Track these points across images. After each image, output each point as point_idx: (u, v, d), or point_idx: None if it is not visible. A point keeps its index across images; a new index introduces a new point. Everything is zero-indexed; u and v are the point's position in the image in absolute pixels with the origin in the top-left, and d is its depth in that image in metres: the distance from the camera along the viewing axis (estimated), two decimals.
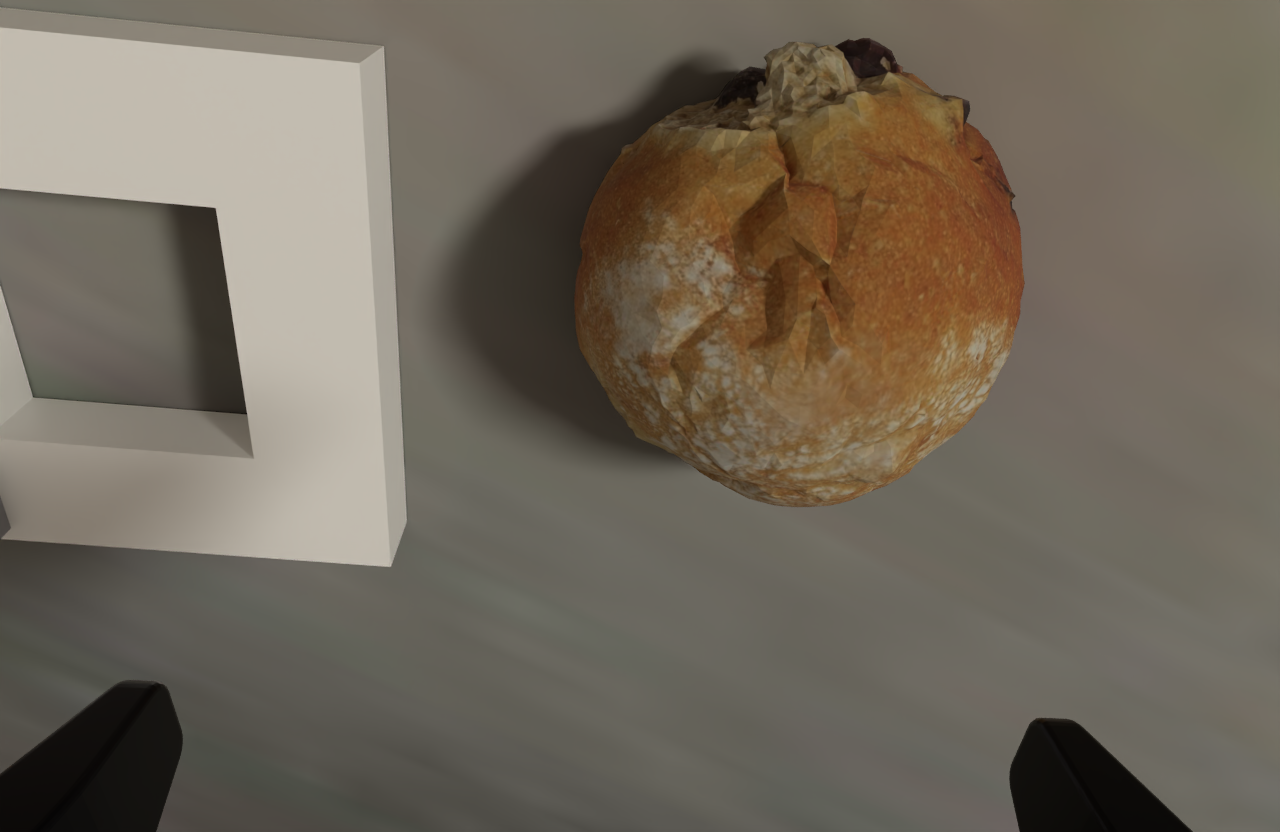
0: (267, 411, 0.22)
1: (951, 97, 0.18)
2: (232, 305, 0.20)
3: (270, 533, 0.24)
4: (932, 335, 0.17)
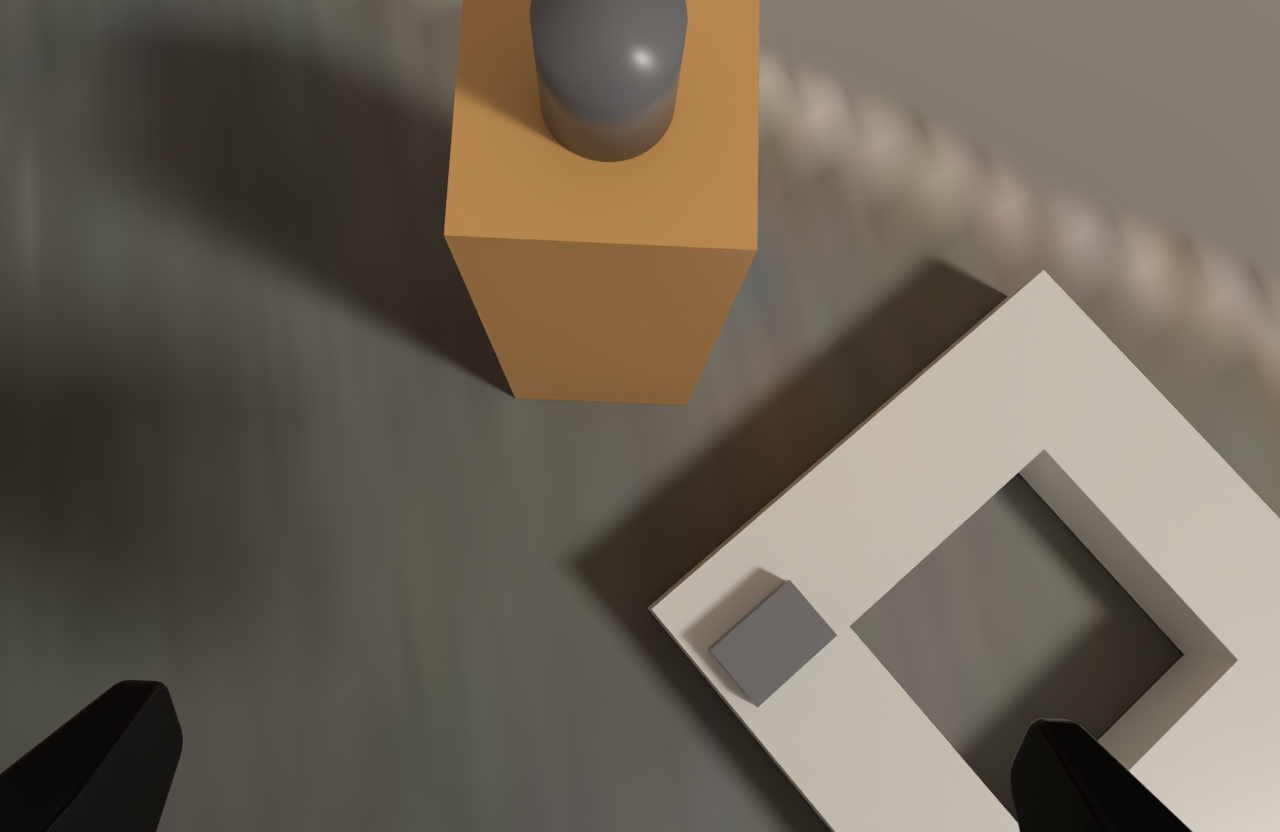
0: None
1: None
2: (1173, 727, 0.21)
3: None
4: None
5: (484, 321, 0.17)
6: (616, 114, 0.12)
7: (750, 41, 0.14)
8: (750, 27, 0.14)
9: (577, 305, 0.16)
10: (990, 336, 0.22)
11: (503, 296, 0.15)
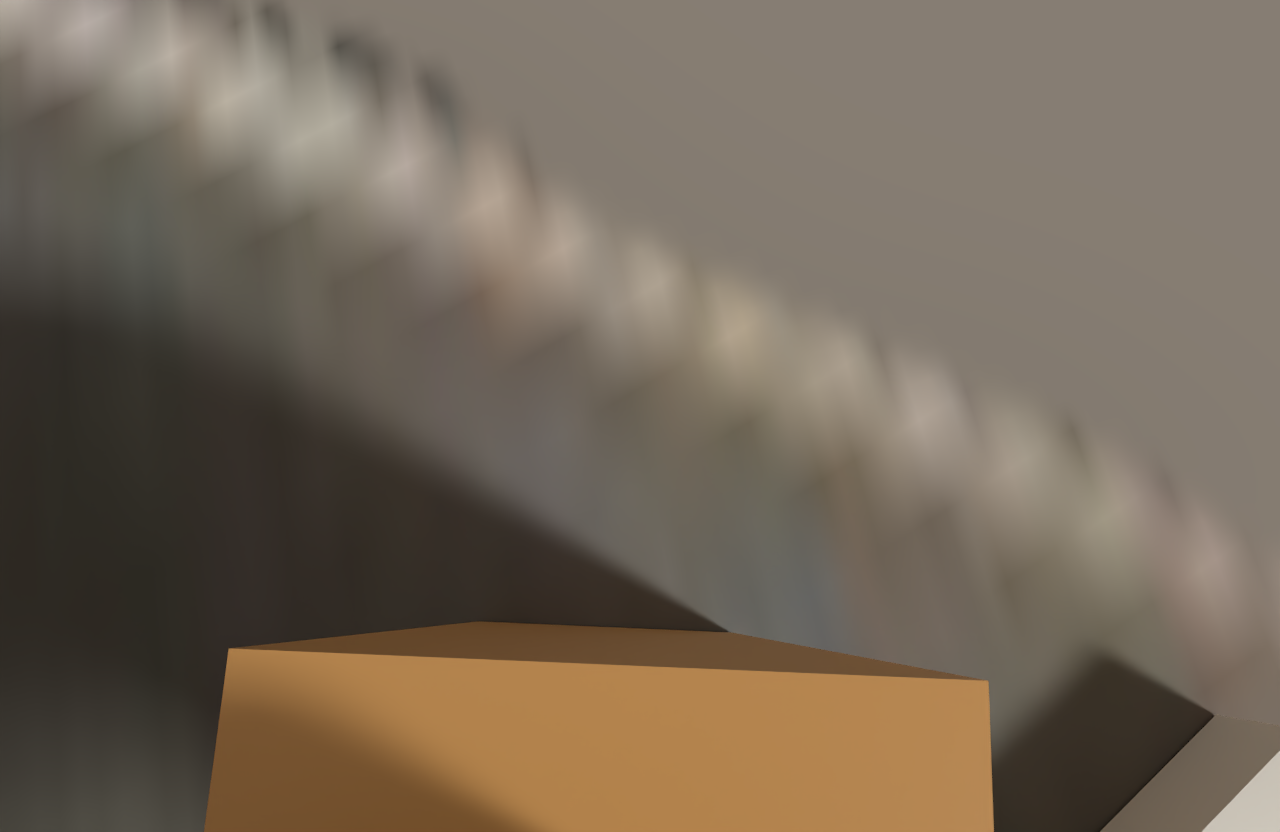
0: None
1: None
2: None
3: None
4: None
5: None
6: None
7: None
8: None
9: None
10: None
11: None
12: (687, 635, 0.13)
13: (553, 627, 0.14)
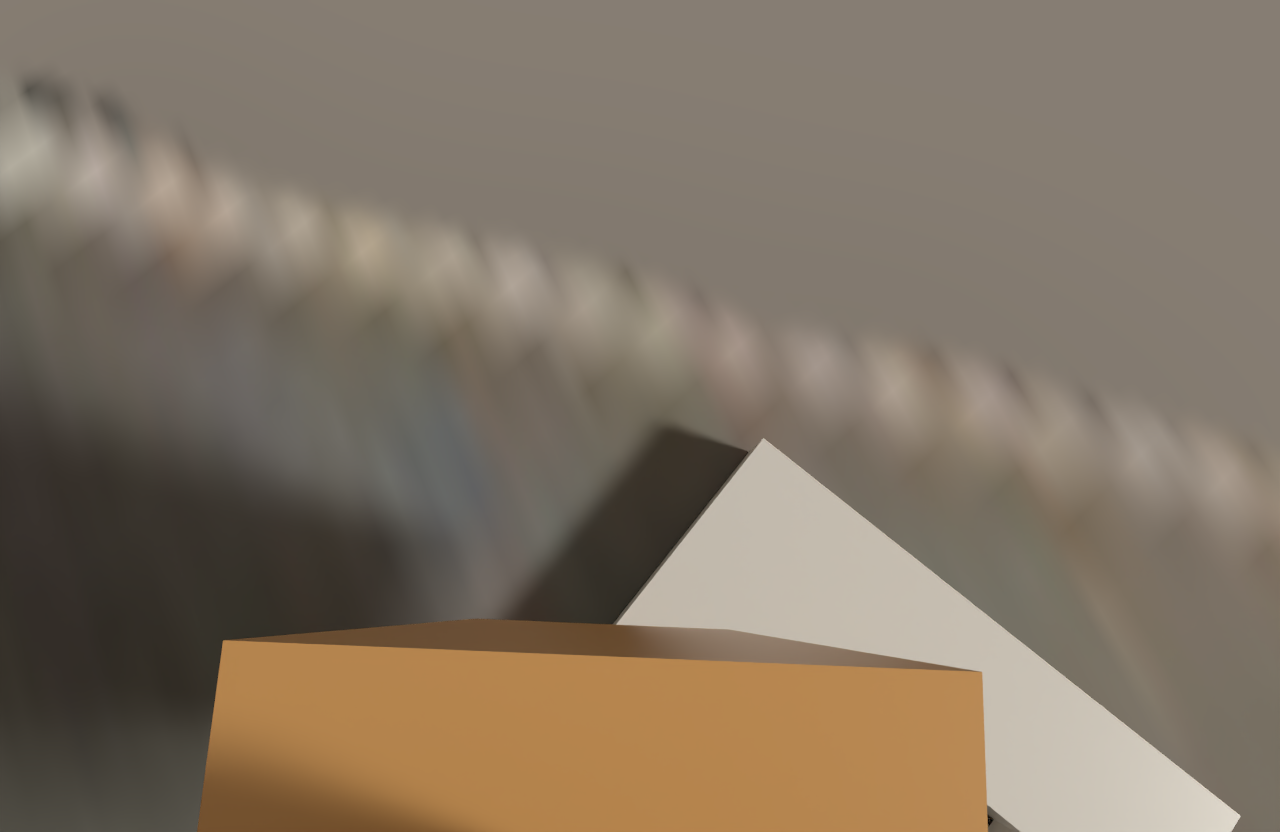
0: None
1: None
2: None
3: None
4: None
5: None
6: None
7: None
8: None
9: None
10: (715, 527, 0.20)
11: None
12: (685, 631, 0.13)
13: (551, 624, 0.14)
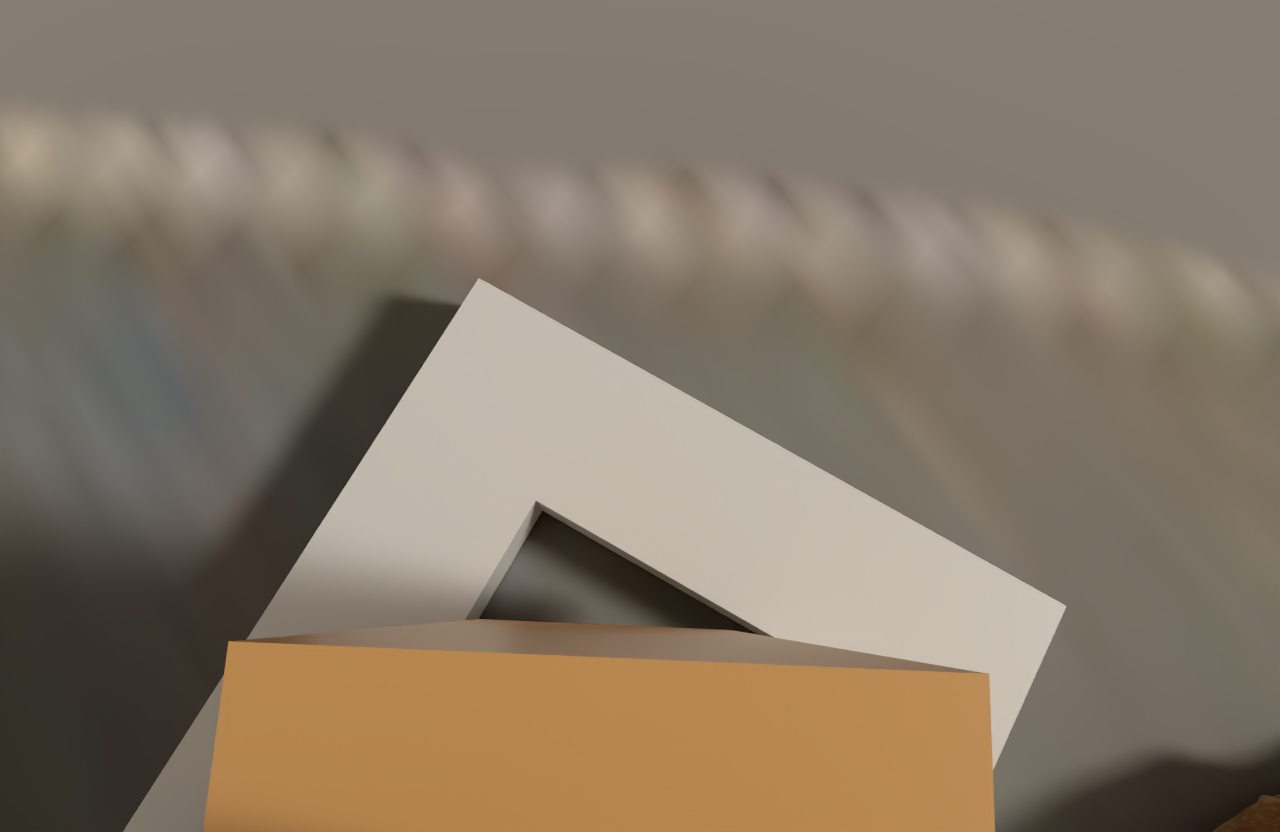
0: None
1: None
2: None
3: None
4: None
5: None
6: None
7: None
8: None
9: None
10: (433, 384, 0.17)
11: None
12: (687, 632, 0.13)
13: (553, 624, 0.14)
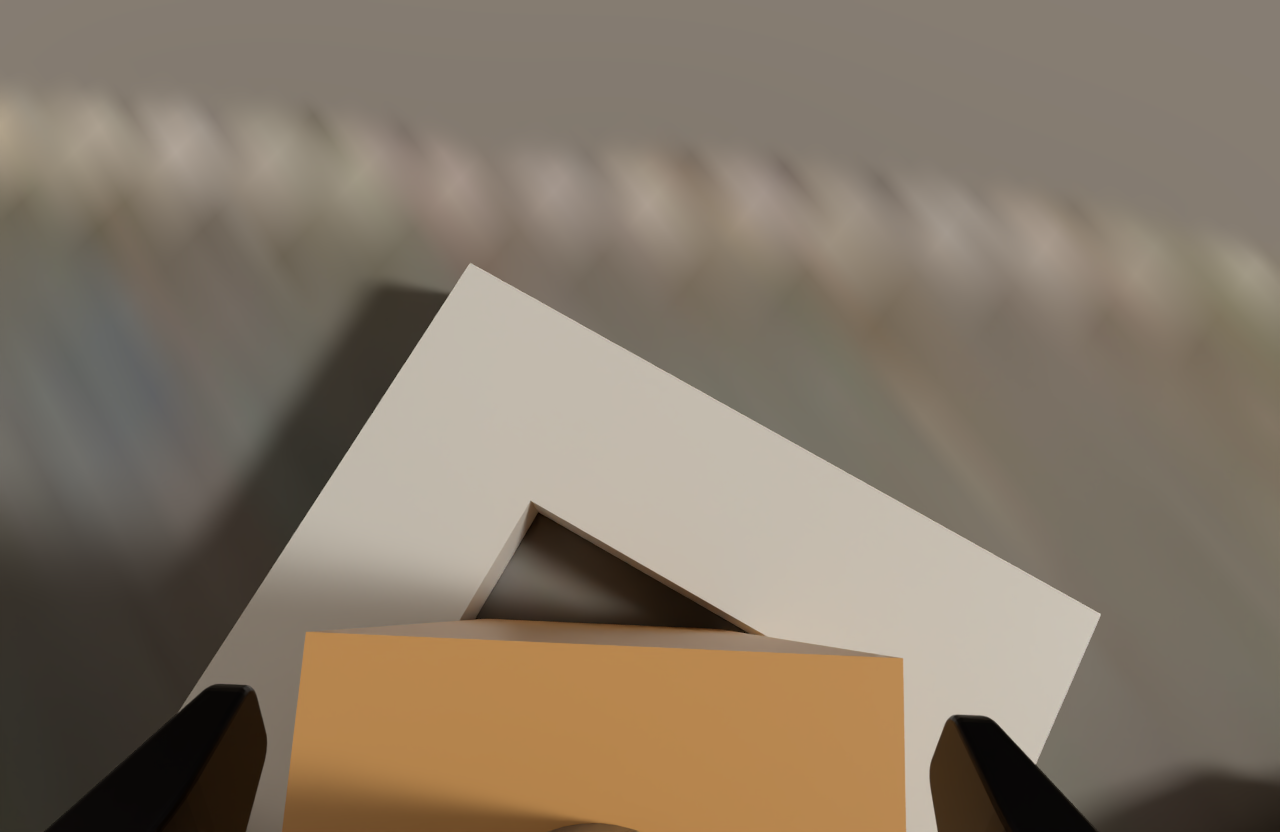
0: None
1: None
2: None
3: None
4: None
5: None
6: None
7: (887, 819, 0.07)
8: (887, 787, 0.07)
9: None
10: (421, 376, 0.16)
11: None
12: (676, 630, 0.14)
13: (556, 623, 0.15)
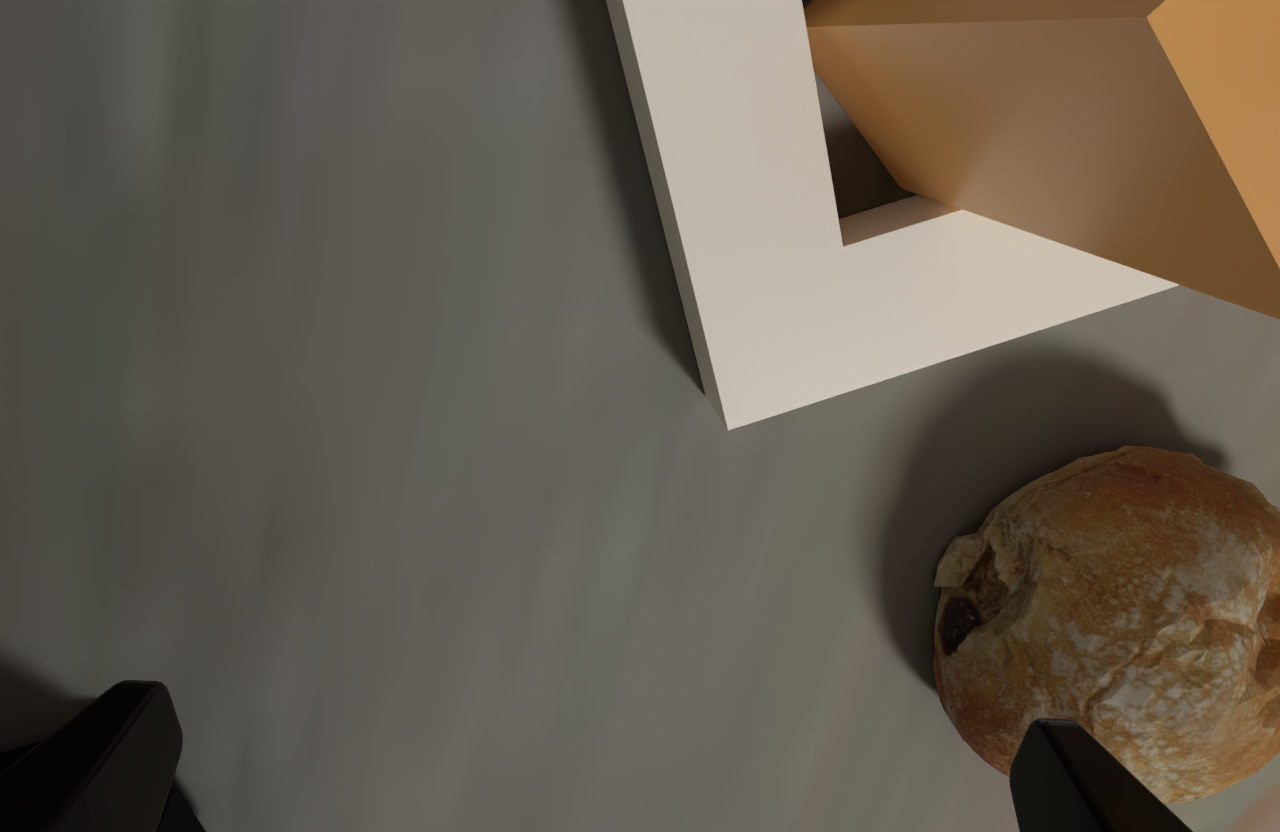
0: (910, 249, 0.19)
1: None
2: None
3: (736, 287, 0.19)
4: (1262, 766, 0.22)
5: (944, 26, 0.13)
6: None
7: None
8: None
9: (1055, 131, 0.12)
10: None
11: (1024, 58, 0.11)
12: None
13: None
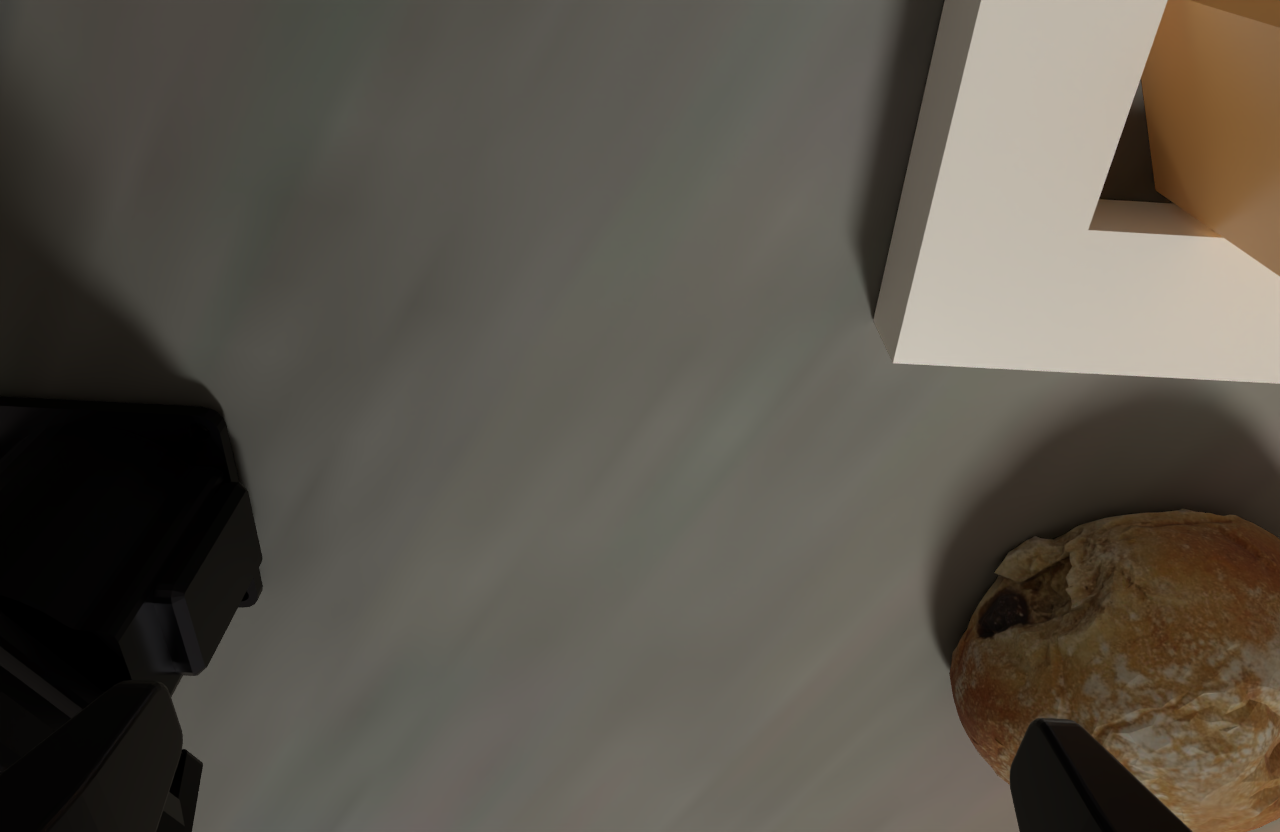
0: (1149, 257, 0.18)
1: None
2: None
3: (969, 230, 0.18)
4: None
5: None
6: None
7: None
8: None
9: None
10: None
11: None
12: None
13: None
